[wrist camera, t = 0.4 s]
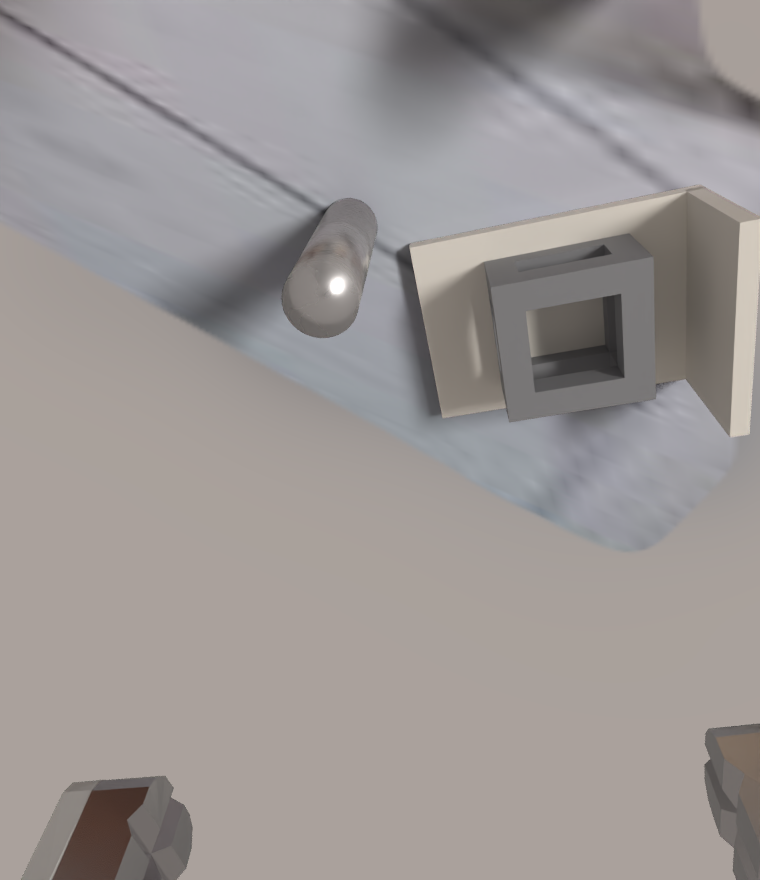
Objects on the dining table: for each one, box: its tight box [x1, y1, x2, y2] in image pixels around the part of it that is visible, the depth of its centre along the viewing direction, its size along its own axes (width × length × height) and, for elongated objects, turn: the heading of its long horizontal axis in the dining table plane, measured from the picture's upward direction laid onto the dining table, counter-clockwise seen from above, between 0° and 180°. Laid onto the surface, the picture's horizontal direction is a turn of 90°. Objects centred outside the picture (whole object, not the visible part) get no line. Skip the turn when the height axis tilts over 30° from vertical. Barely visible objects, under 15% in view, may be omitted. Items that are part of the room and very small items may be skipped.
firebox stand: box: [410, 185, 760, 437], centre depth 47 cm, size 14×20×10 cm
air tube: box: [282, 198, 378, 338], centre depth 42 cm, size 4×4×16 cm
